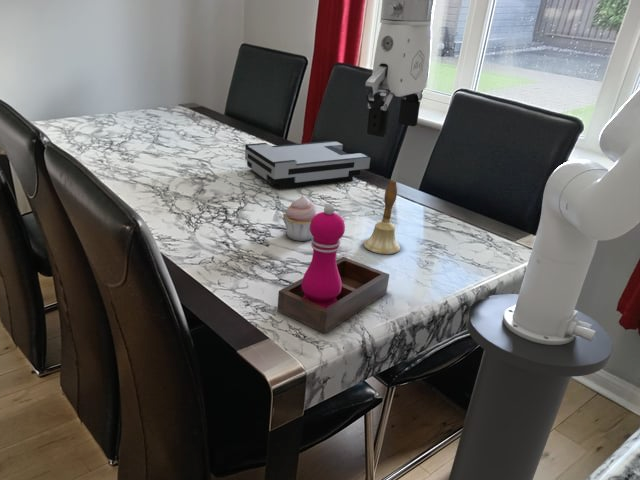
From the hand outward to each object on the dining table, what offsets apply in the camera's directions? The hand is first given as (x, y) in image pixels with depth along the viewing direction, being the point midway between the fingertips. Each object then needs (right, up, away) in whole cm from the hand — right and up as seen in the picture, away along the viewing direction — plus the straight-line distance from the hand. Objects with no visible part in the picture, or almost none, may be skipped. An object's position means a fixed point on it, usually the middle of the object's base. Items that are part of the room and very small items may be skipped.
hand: (392, 129), depth 93 cm
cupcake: (-11, -13, +45) cm, 48 cm away
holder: (-7, -28, +17) cm, 34 cm away
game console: (-7, +9, +86) cm, 87 cm away
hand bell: (+7, -16, +41) cm, 44 cm away
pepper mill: (-10, -29, +14) cm, 34 cm away
